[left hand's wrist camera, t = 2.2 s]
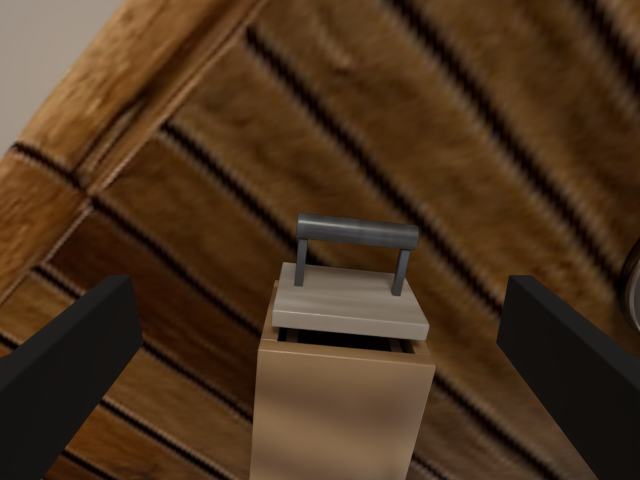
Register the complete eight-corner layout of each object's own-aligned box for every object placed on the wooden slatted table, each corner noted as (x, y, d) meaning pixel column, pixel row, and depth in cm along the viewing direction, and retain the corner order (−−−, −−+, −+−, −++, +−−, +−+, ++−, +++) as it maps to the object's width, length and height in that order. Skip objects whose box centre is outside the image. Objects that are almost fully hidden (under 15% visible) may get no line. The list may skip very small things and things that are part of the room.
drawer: (288, 198, 27) (278, 229, 20) (417, 212, 28) (449, 247, 21) (268, 434, 36) (255, 514, 29) (367, 442, 36) (379, 522, 29)
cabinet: (275, 279, 31) (257, 349, 22) (403, 292, 31) (436, 366, 23) (261, 451, 38) (243, 557, 29) (366, 459, 38) (381, 566, 29)
